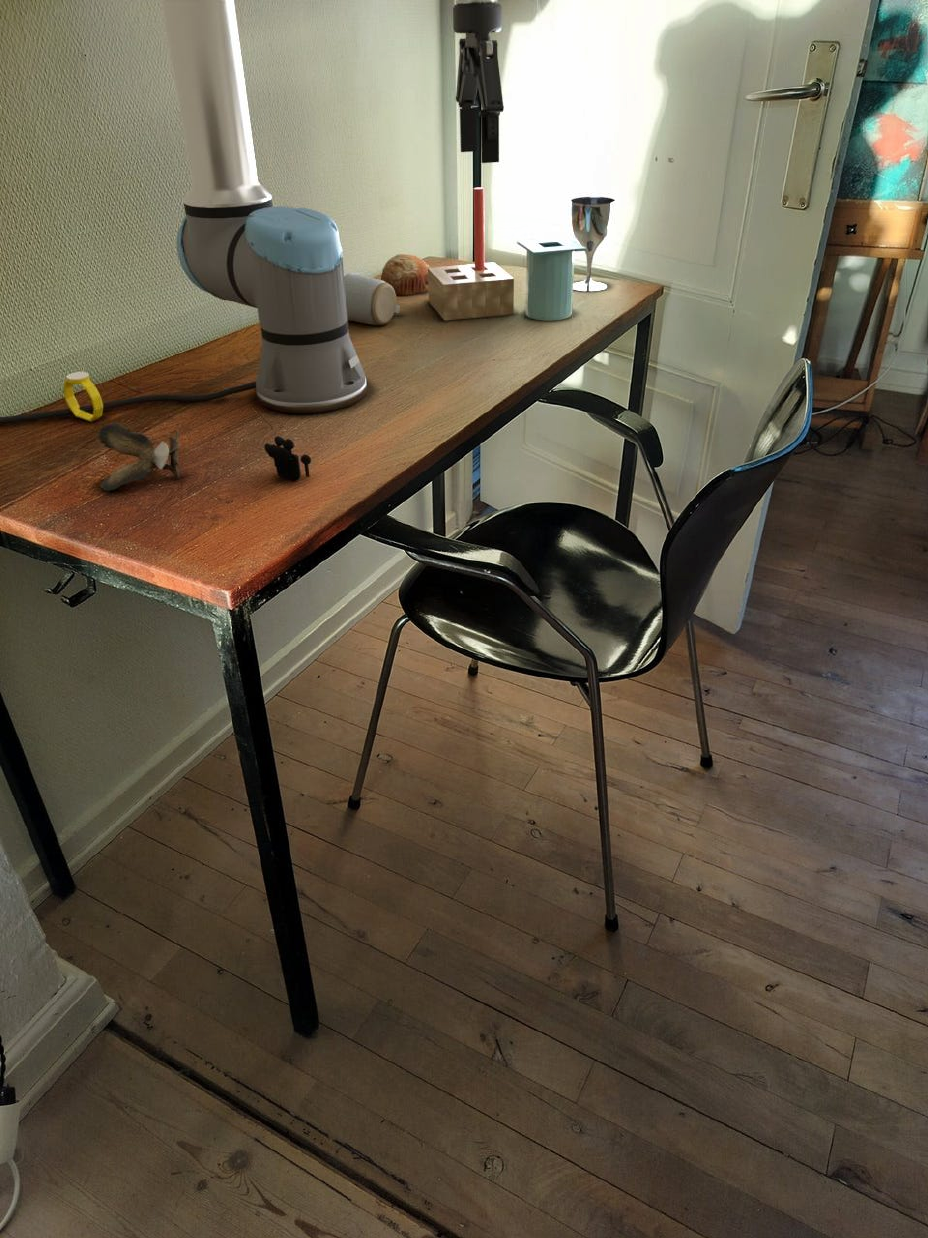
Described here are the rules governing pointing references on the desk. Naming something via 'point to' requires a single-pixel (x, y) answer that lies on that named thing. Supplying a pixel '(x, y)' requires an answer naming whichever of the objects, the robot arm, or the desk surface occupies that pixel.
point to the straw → (479, 229)
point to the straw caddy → (470, 291)
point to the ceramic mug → (369, 300)
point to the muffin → (406, 274)
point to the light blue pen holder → (549, 285)
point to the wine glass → (591, 231)
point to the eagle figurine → (137, 454)
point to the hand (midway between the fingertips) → (479, 156)
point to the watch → (91, 390)
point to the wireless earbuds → (287, 459)
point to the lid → (563, 243)
